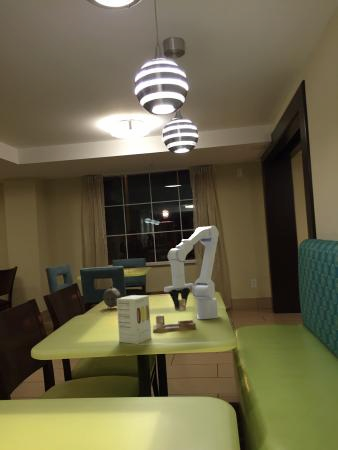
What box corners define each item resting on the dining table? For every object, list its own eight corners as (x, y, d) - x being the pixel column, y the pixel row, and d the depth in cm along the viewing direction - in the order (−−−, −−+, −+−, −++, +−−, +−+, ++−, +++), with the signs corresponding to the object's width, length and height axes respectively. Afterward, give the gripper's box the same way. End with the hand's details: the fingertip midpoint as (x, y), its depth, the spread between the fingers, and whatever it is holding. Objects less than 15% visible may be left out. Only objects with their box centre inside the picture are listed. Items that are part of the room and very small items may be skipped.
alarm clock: (122, 308, 214) (120, 280, 214) (116, 310, 209) (114, 281, 210) (108, 307, 219) (106, 280, 220) (102, 309, 215) (100, 281, 216)
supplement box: (137, 344, 135) (134, 299, 136) (118, 342, 140) (115, 298, 140) (152, 337, 143) (149, 295, 144) (133, 335, 148) (130, 294, 148)
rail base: (193, 324, 160) (192, 310, 160) (196, 328, 152) (194, 314, 152) (153, 328, 159) (152, 313, 159) (153, 332, 151) (152, 317, 151)
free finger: (180, 309, 163) (180, 298, 163) (186, 310, 159) (185, 299, 160) (174, 310, 161) (173, 299, 161) (179, 311, 157) (178, 300, 158)
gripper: (186, 273, 168) (188, 302, 167) (159, 276, 160) (161, 307, 159) (195, 273, 162) (197, 304, 161) (167, 277, 154) (170, 309, 153)
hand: (180, 306), depth 160 cm, fingers closed on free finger, 3 cm apart
